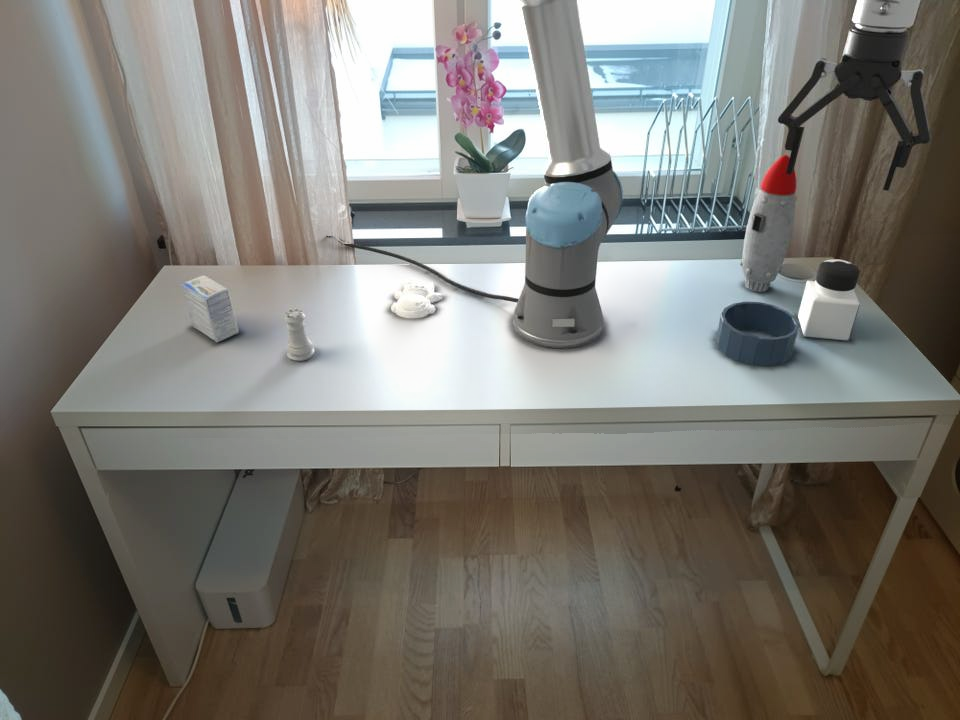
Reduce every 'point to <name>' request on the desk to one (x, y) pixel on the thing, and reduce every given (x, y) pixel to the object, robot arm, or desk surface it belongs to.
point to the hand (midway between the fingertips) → (836, 179)
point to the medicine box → (210, 308)
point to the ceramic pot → (755, 347)
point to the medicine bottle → (830, 301)
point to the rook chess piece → (298, 337)
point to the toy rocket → (769, 227)
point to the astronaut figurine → (415, 300)
